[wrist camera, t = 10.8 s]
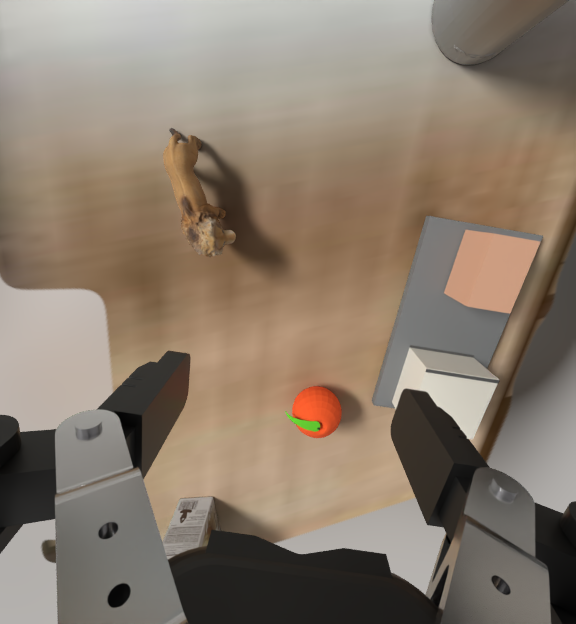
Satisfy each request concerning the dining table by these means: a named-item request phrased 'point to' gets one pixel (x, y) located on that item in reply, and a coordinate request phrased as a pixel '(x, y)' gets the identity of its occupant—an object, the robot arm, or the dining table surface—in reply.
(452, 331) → the grey tray
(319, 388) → the clementine
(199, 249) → the lion figurine
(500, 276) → the stub
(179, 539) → the coffee box
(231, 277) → the dining table surface
